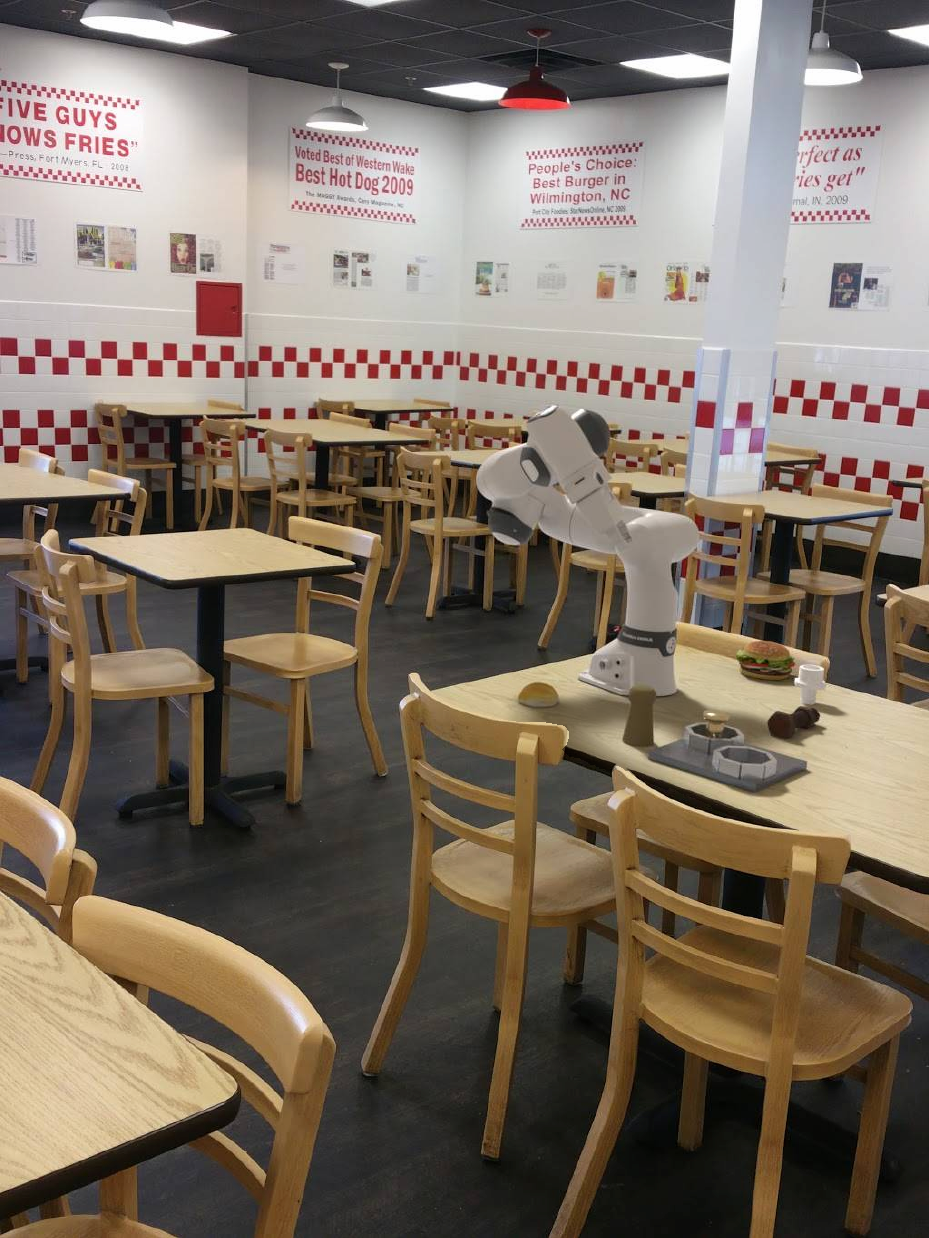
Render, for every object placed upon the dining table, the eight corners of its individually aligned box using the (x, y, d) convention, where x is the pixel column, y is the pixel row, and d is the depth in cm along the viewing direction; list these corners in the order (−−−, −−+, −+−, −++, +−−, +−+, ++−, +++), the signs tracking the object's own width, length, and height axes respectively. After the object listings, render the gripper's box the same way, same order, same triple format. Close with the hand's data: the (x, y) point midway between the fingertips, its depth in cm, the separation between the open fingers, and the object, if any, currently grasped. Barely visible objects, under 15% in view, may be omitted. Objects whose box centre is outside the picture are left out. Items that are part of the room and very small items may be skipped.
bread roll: (514, 706, 248) (516, 687, 247) (523, 695, 256) (524, 677, 255) (553, 711, 246) (555, 692, 245) (561, 699, 254) (562, 681, 253)
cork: (634, 748, 224) (639, 692, 222) (616, 738, 230) (621, 683, 227) (660, 744, 227) (665, 689, 225) (641, 735, 232) (646, 681, 230)
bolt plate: (647, 758, 219) (651, 719, 217) (702, 738, 233) (706, 701, 231) (754, 792, 204) (759, 751, 203) (806, 769, 218) (811, 730, 217)
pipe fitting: (830, 705, 261) (834, 670, 259) (802, 707, 258) (806, 671, 257) (812, 697, 267) (817, 663, 265) (785, 699, 264) (789, 664, 262)
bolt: (814, 733, 247) (780, 745, 236) (797, 716, 250) (762, 727, 238) (831, 713, 244) (797, 724, 233) (813, 696, 247) (778, 706, 236)
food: (747, 663, 295) (751, 632, 293) (801, 675, 286) (805, 643, 284) (721, 672, 284) (725, 640, 282) (776, 685, 276) (780, 652, 274)
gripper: (580, 487, 233) (618, 547, 234) (565, 498, 214) (606, 562, 214) (607, 470, 231) (646, 530, 232) (594, 478, 212) (636, 544, 212)
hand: (627, 545), depth 223 cm, fingers open, 8 cm apart
